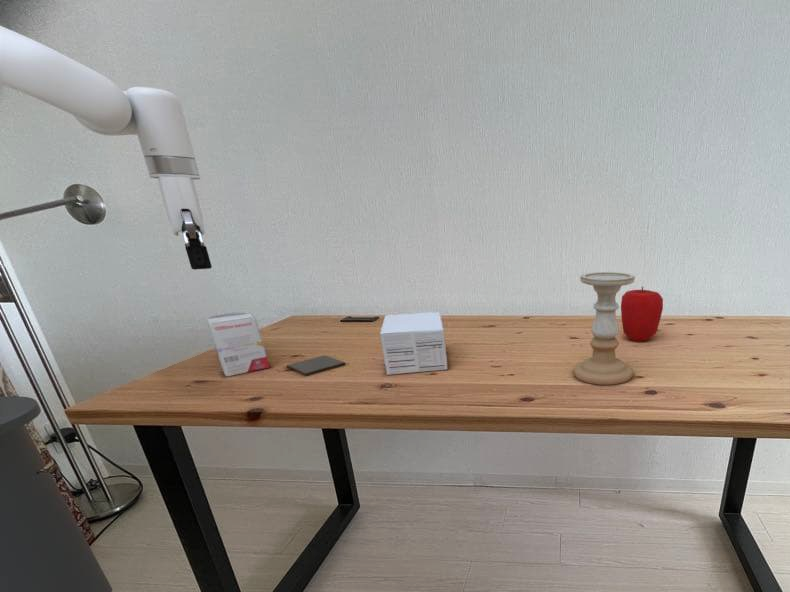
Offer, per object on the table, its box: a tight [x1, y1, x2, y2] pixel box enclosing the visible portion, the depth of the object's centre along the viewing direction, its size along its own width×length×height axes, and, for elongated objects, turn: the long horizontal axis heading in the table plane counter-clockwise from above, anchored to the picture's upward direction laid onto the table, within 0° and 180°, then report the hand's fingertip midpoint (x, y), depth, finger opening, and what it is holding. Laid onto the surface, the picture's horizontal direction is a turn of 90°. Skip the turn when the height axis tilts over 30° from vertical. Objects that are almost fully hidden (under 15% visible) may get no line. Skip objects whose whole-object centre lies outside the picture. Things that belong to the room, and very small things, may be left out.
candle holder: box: [573, 271, 636, 386], centre depth 91 cm, size 12×12×20 cm
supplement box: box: [379, 311, 449, 376], centre depth 104 cm, size 17×13×9 cm
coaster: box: [286, 354, 346, 377], centre depth 103 cm, size 9×9×1 cm
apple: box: [620, 286, 664, 343], centre depth 117 cm, size 11×10×14 cm
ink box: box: [206, 313, 270, 377], centre depth 99 cm, size 9×5×12 cm, turn 128°
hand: (201, 266), depth 90 cm, fingers open, 9 cm apart
